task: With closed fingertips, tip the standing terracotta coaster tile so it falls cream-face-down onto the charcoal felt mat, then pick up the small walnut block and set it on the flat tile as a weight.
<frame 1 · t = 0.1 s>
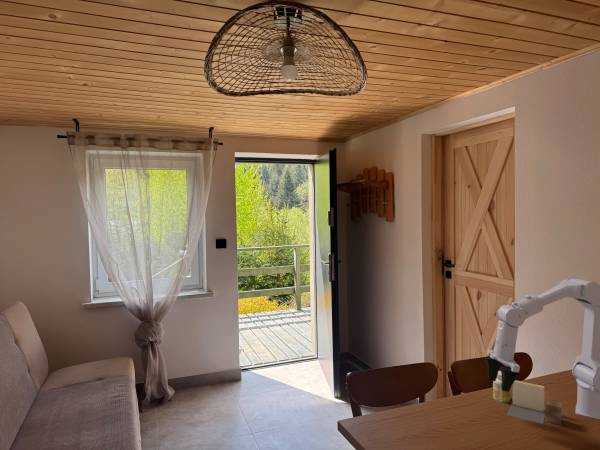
hand: (498, 385, 129), 11 cm above the table, tool pointing down, fingers open, 7 cm apart
mat: (527, 412, 133), on the table
block: (553, 422, 127), on the table
tile: (528, 407, 135), point 1 cm above the table, touching mat
supplement bottle: (501, 401, 142), on the table
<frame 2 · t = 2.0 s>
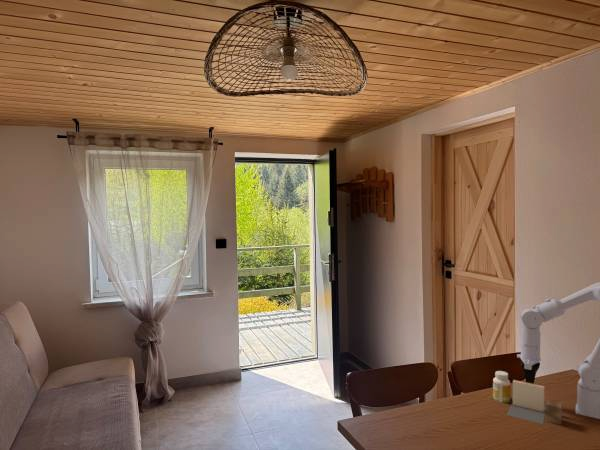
hand: (529, 383, 140), 7 cm above the table, tool pointing down, fingers closed
nothing on the table moved.
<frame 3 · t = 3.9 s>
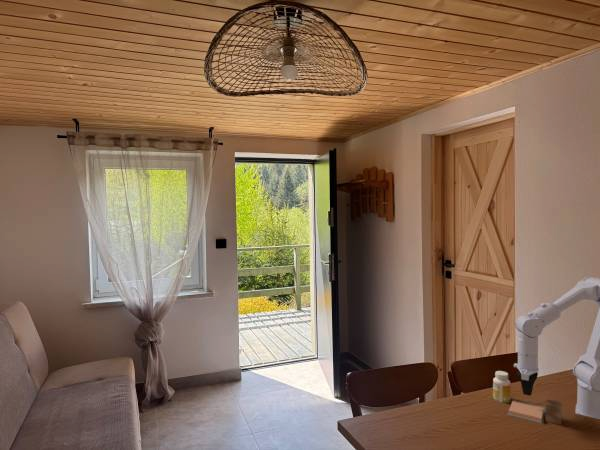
hand: (527, 394, 133), 6 cm above the table, tool pointing down, fingers closed
tile: (527, 406, 135), point 1 cm above the table, tilted 90°, touching mat
everything else where it was.
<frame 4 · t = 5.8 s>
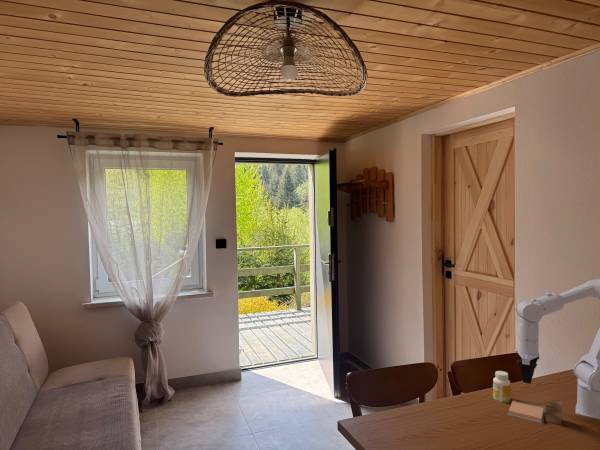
hand: (528, 379, 134), 10 cm above the table, tool pointing down, fingers open, 6 cm apart
nothing on the table moved.
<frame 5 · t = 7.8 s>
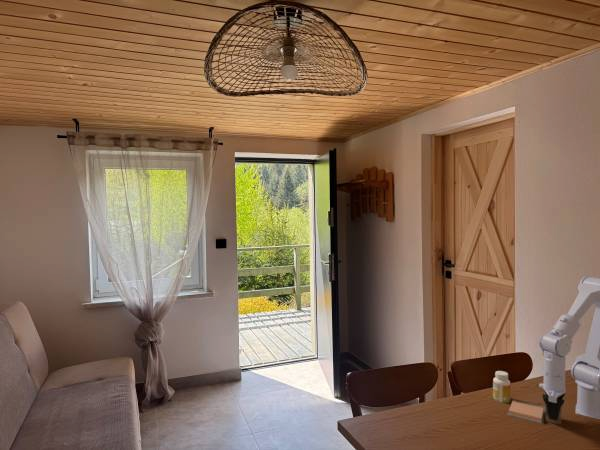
hand: (553, 416, 127), 2 cm above the table, tool pointing down, fingers closed on block, 4 cm apart
block: (553, 422, 127), on the table, touching gripper
everything else where it was.
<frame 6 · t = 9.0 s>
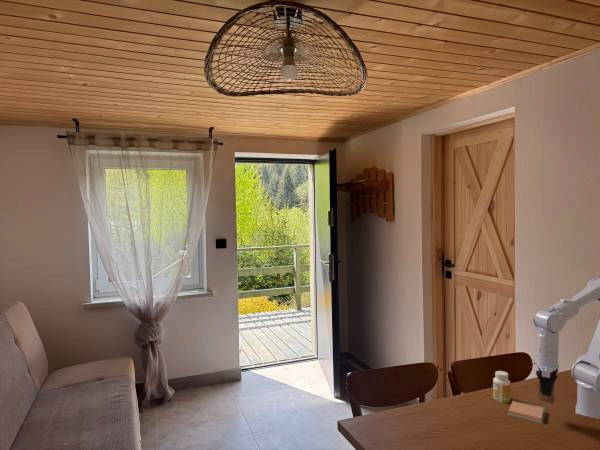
hand: (546, 392, 128), 9 cm above the table, tool pointing down, fingers closed on block, 4 cm apart
block: (546, 399, 128), point 7 cm above the table, touching gripper
everything else where it was.
when the fingers open (5 cm above the table, at t = 10.5 s): block stays where it is, resting on tile.
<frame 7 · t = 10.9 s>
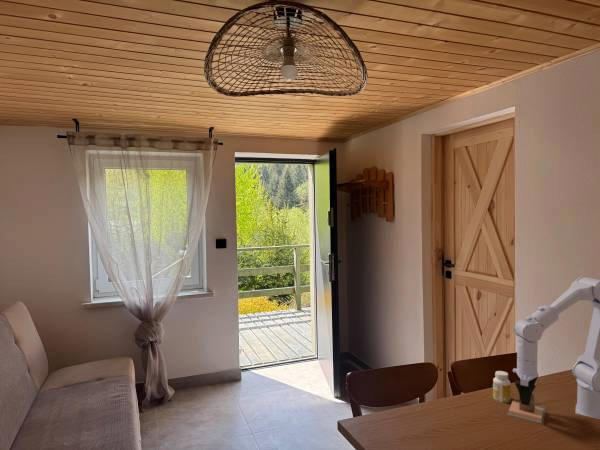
hand: (526, 399, 131), 5 cm above the table, tool pointing down, fingers open, 7 cm apart
block: (527, 408, 131), point 2 cm above the table, touching tile
tile: (527, 406, 135), point 1 cm above the table, tilted 90°, touching block, mat
everything else where it was.
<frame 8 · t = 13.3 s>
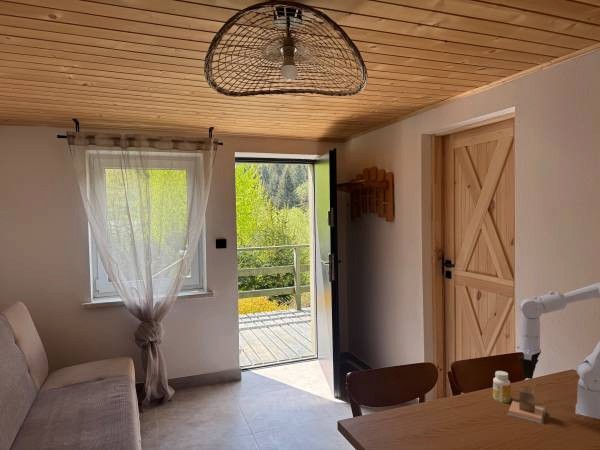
hand: (529, 374, 138), 10 cm above the table, tool pointing down, fingers open, 7 cm apart
nothing on the table moved.
at the end: tile tilted 90°; block touching tile; block tilted 0° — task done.
